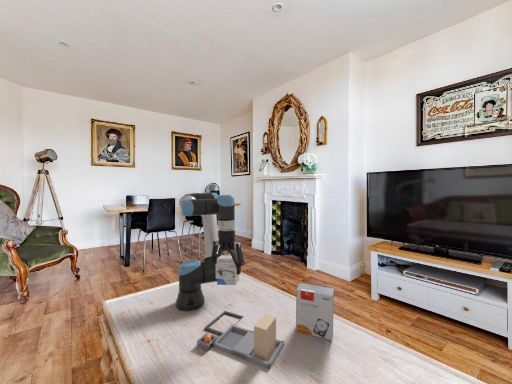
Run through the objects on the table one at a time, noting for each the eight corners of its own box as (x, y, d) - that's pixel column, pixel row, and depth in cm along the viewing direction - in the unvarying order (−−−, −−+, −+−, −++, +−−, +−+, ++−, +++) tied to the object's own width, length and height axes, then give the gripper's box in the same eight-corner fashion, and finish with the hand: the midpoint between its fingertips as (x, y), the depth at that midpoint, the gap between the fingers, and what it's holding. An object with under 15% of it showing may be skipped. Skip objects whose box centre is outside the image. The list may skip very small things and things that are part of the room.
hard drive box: (295, 333, 105) (295, 289, 104) (298, 324, 112) (298, 282, 111) (332, 342, 99) (332, 295, 98) (333, 331, 106) (334, 287, 105)
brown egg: (202, 345, 98) (202, 336, 97) (207, 340, 100) (206, 332, 100) (208, 347, 96) (208, 339, 96) (212, 343, 99) (212, 334, 99)
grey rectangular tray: (212, 349, 96) (212, 343, 96) (232, 329, 108) (232, 324, 108) (269, 371, 84) (269, 365, 84) (284, 347, 96) (284, 341, 96)
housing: (197, 347, 97) (196, 341, 97) (206, 338, 102) (206, 332, 102) (208, 351, 94) (208, 345, 94) (217, 342, 99) (217, 336, 99)
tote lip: (204, 329, 109) (204, 327, 109) (224, 312, 123) (224, 310, 123) (226, 337, 103) (226, 335, 103) (245, 318, 117) (245, 316, 117)
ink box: (216, 285, 105) (216, 258, 105) (219, 280, 110) (218, 255, 110) (236, 285, 104) (235, 258, 104) (238, 281, 109) (237, 255, 109)
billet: (254, 357, 90) (254, 326, 89) (264, 343, 98) (264, 314, 97) (266, 361, 87) (266, 329, 87) (276, 346, 95) (276, 317, 95)
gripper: (201, 229, 109) (202, 278, 109) (243, 232, 98) (244, 286, 99) (212, 226, 115) (212, 272, 116) (252, 229, 105) (253, 280, 105)
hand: (227, 279), depth 107 cm, fingers closed on ink box, 9 cm apart
